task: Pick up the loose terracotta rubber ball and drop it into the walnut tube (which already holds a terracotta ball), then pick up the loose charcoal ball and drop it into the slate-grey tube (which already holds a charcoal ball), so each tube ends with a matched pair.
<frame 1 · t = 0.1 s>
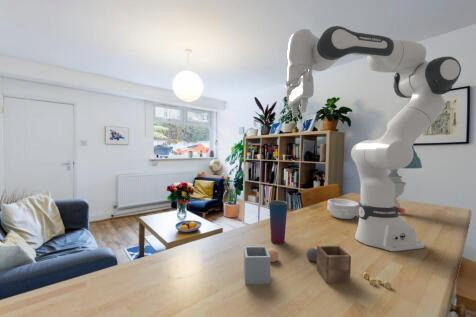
hand: (298, 114, 83), 48 cm above the table, fingers open, 8 cm apart
charcoal ball: (313, 261, 70), on the table
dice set: (375, 285, 59), on the table
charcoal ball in: (256, 276, 61), resting on slate tube
slate tube: (256, 278, 61), on the table
terracotta ball: (272, 261, 70), on the table
walnut tube: (332, 277, 61), on the table
paper bowls: (342, 217, 117), on the table
table lamp: (392, 212, 125), on the table
cup: (277, 242, 85), on the table
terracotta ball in: (332, 275, 61), resting on walnut tube
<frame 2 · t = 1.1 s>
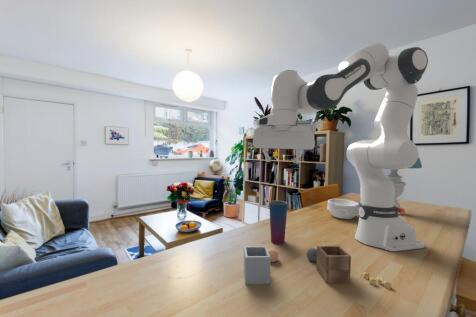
hand: (281, 162, 75), 31 cm above the table, fingers open, 8 cm apart
nothing on the table moved.
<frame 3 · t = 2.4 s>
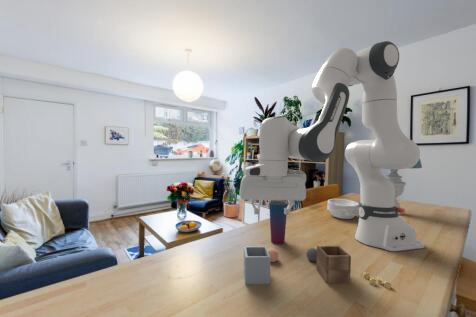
hand: (271, 214, 69), 15 cm above the table, fingers open, 8 cm apart
nothing on the table moved.
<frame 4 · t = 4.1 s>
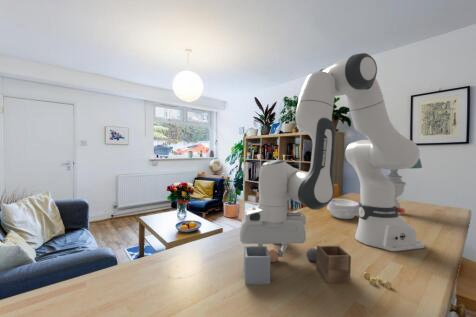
hand: (272, 256, 70), 2 cm above the table, fingers closed on terracotta ball, 4 cm apart
terracotta ball: (272, 261, 70), on the table, touching gripper
everything else where it was.
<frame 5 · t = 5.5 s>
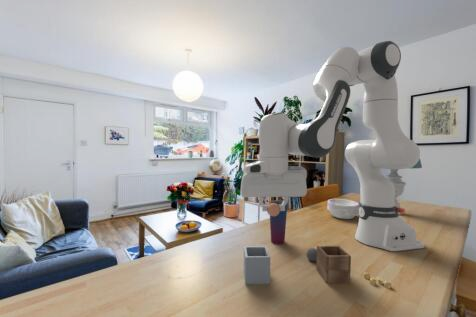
hand: (273, 210, 69), 16 cm above the table, fingers closed on terracotta ball, 4 cm apart
terracotta ball: (273, 216, 69), point 14 cm above the table, touching gripper
everything else where it was.
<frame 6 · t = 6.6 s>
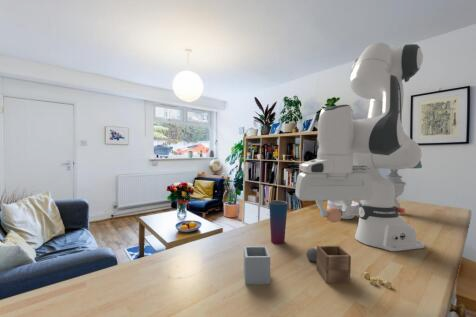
hand: (333, 216, 61), 17 cm above the table, fingers closed on terracotta ball, 4 cm apart
terracotta ball: (333, 222, 61), point 15 cm above the table, touching gripper
everything else where it was.
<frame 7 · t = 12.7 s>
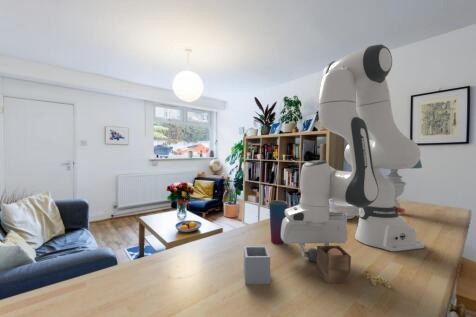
hand: (313, 255, 70), 2 cm above the table, fingers closed on charcoal ball, 4 cm apart
charcoal ball: (313, 261, 70), on the table, touching gripper
terracotta ball: (331, 258, 62), point 5 cm above the table, tilted 51°, touching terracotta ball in, walnut tube
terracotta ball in: (332, 275, 61), resting on walnut tube, tilted 17°, touching terracotta ball
everything else where it was.
when the fingers open (10 cm above the table, at t = 16.7 s): charcoal ball drops 3 cm and tips over, resting on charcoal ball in, slate tube.
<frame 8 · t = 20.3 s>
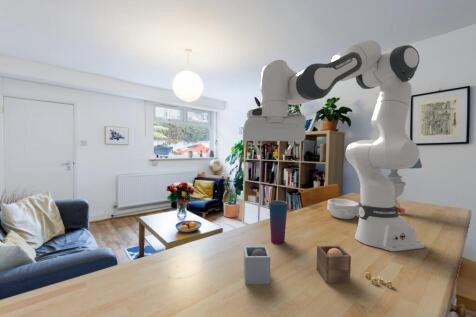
hand: (273, 155, 73), 33 cm above the table, fingers open, 8 cm apart
charcoal ball: (255, 261, 61), point 5 cm above the table, tilted 37°, touching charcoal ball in, slate tube
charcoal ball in: (256, 276, 61), resting on slate tube, tilted 8°, touching charcoal ball
everything else where it was.
at the end: terracotta ball 0.9 cm off-centre on the walnut tube, point 4.9 cm above the walnut tube's base; charcoal ball 0.4 cm off-centre on the slate tube, point 4.6 cm above the slate tube's base; the gripper is holding nothing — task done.
